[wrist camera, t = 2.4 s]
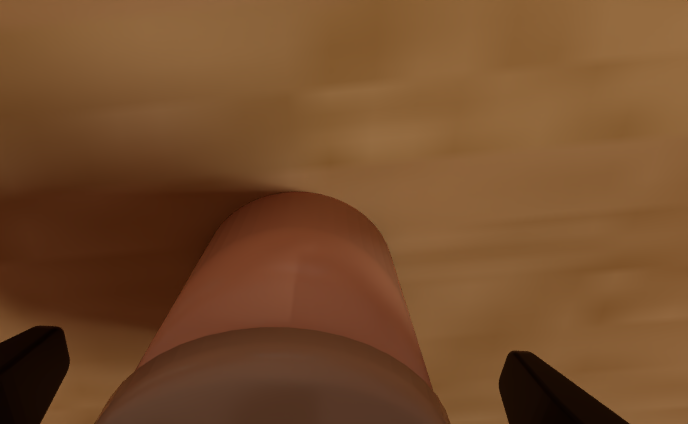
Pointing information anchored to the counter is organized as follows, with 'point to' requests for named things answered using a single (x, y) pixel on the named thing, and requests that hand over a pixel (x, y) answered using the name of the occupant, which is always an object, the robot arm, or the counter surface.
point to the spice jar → (285, 328)
